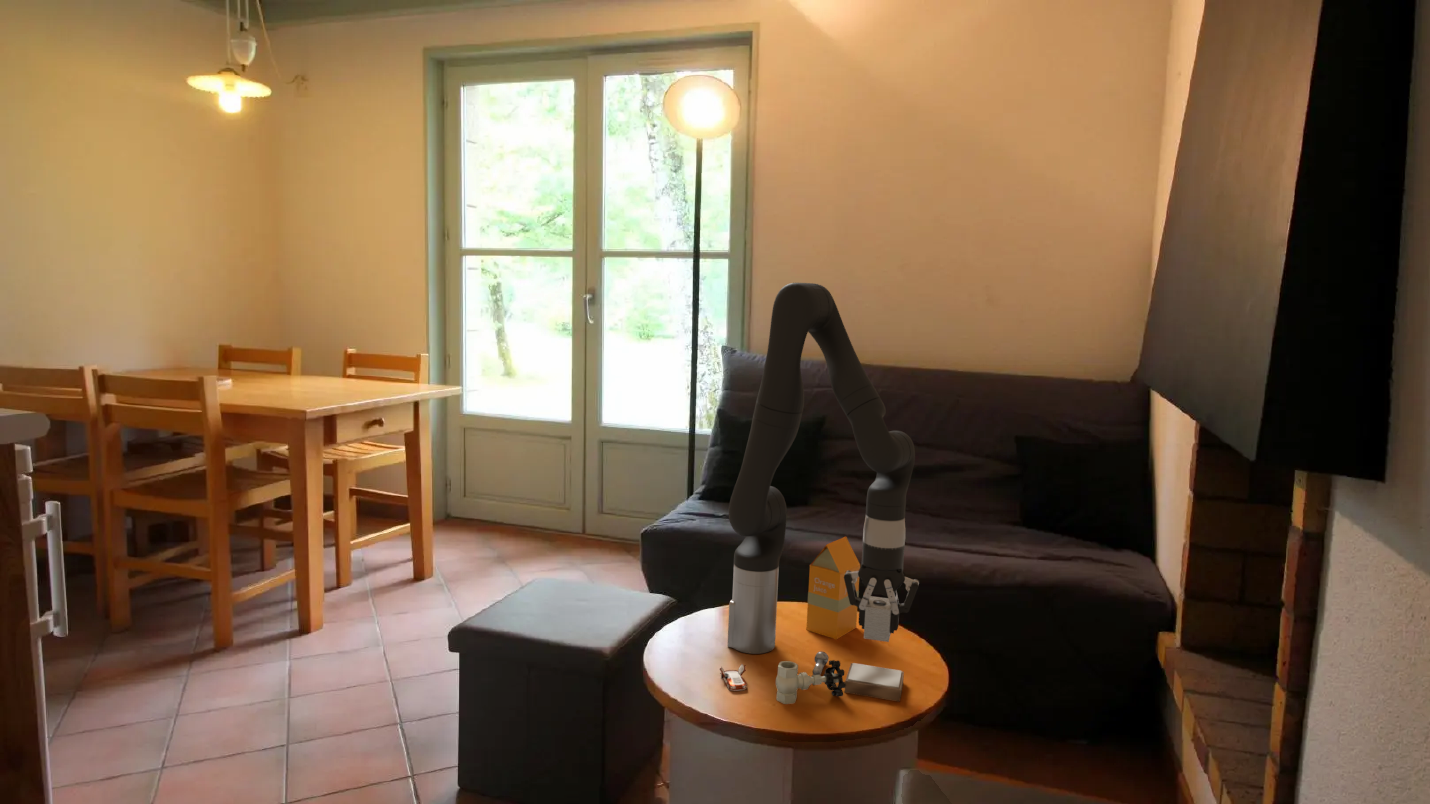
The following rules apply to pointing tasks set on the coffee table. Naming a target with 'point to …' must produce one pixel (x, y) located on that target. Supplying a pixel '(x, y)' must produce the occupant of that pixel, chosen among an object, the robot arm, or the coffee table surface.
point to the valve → (806, 680)
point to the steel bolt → (820, 662)
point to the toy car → (734, 678)
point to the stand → (874, 682)
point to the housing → (877, 619)
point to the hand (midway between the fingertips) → (878, 629)
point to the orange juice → (832, 590)
